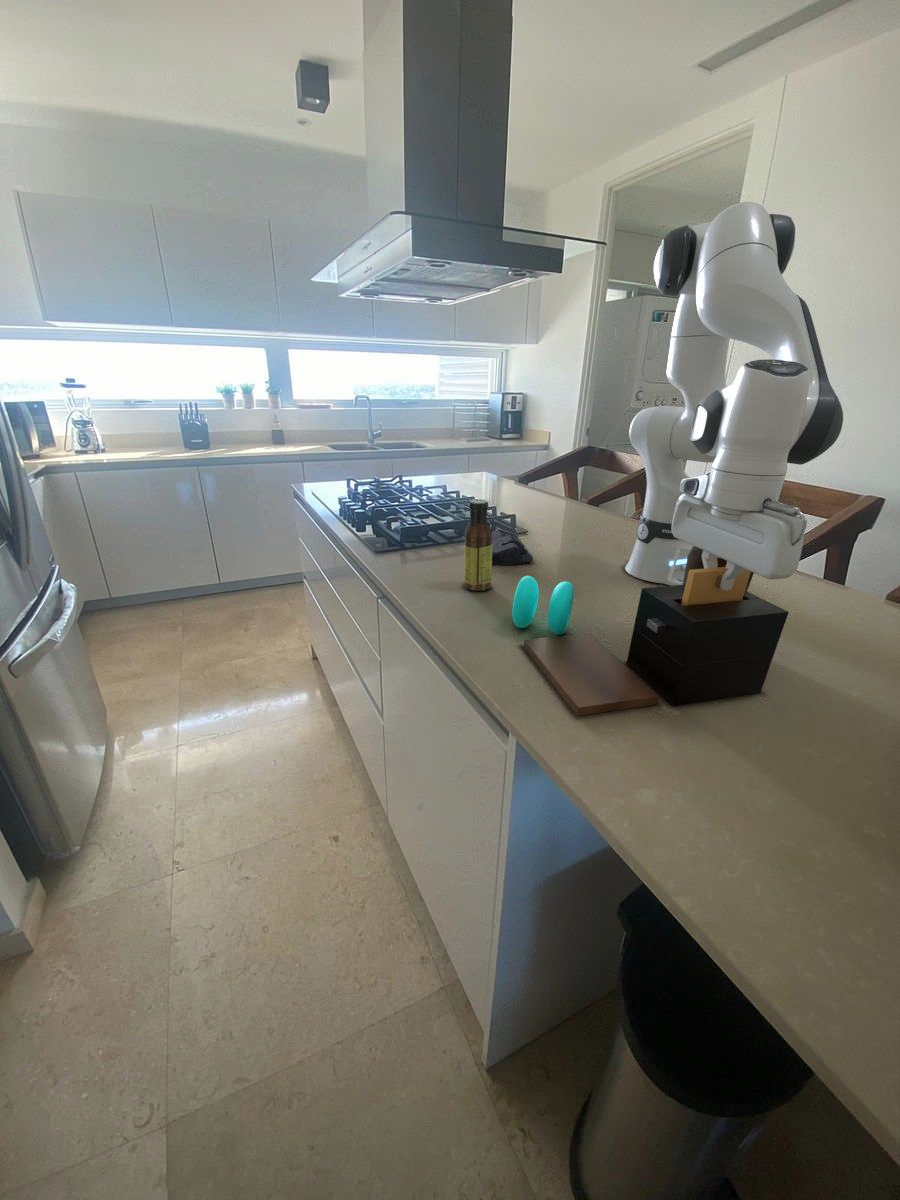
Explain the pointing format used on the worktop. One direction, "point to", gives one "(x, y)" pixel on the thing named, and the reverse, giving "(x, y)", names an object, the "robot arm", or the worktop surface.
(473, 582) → the sauce bottle
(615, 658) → the cutting board
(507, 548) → the dark slate chunk
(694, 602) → the toast
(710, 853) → the worktop surface
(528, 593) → the turquoise disc pair
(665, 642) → the toaster
